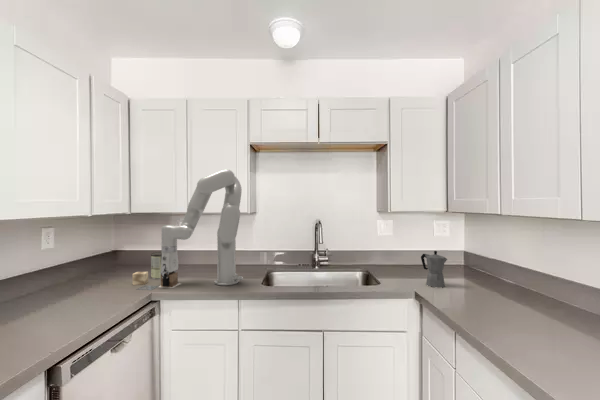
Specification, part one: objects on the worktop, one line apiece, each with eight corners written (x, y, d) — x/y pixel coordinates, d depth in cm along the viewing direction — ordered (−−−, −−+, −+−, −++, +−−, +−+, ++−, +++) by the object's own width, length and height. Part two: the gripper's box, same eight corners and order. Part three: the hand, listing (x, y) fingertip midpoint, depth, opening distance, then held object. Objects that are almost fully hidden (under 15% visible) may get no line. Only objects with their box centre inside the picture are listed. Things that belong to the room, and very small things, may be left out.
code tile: (181, 284, 179) (181, 283, 179) (173, 288, 170) (173, 287, 170) (165, 283, 180) (165, 282, 180) (156, 288, 171) (156, 287, 171)
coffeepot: (452, 287, 174) (452, 251, 174) (441, 289, 169) (441, 253, 168) (426, 280, 187) (426, 248, 187) (415, 283, 181) (415, 249, 181)
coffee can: (156, 275, 199) (156, 251, 199) (173, 275, 198) (173, 251, 198) (147, 279, 189) (147, 254, 189) (164, 280, 188) (164, 254, 188)
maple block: (148, 282, 182) (148, 271, 182) (144, 285, 176) (144, 274, 176) (136, 283, 181) (136, 271, 181) (132, 285, 175) (132, 274, 175)
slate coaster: (159, 286, 173) (159, 285, 173) (151, 291, 165) (151, 289, 165) (145, 286, 174) (145, 285, 174) (135, 290, 166) (135, 289, 166)
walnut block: (177, 283, 178) (177, 272, 178) (172, 286, 172) (172, 274, 172) (166, 283, 178) (166, 272, 178) (160, 286, 172) (160, 274, 172)
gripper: (167, 252, 166) (167, 288, 166) (183, 247, 183) (183, 280, 183) (153, 251, 167) (153, 288, 167) (170, 246, 184) (170, 280, 184)
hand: (169, 283), depth 175 cm, fingers closed on walnut block, 6 cm apart
